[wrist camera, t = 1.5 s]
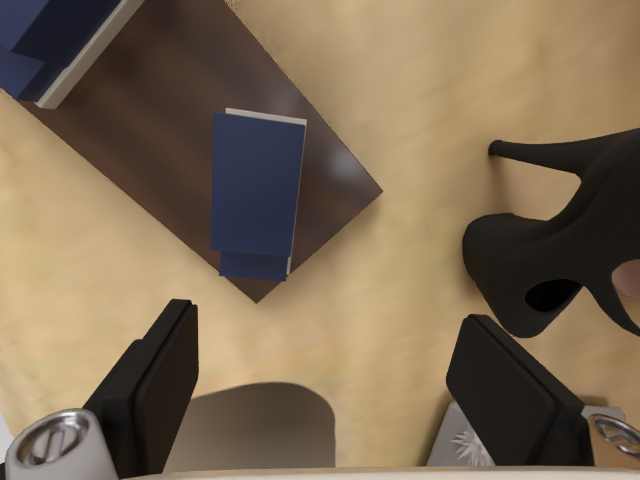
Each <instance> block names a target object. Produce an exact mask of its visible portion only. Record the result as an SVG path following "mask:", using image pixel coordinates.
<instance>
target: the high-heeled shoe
mask: <svg viewBox="0 0 640 480" xmlns="http://www.w3.org/2000/svg"><path fill="white" fill-rule="evenodd" d="M488 151H489V154H490V155H496V156H500V157H505V158H509V159H513V160H518V161H522V162H526V163H531V164H535V165H540V166H544V167H548V168H552V169H556V170H561V171H566V172H570V173H574V174H576V175H577V176H578V177H579V178H580V179H581V182H582V183H581V185H580V187H579V189H578V190H577V192H576V193H575V195H574V196H573V198H572V199H571V201H570V202H569V203H568V205H567V206H566V207H565V208H564V209H563V210H562V211H561V212H560V213H559V214H558V215H556V216H555V217H553V218H551V219H550V220H548V221H543V220H536V219H528V218H523V217H519V216H516V215H514V214H512V213H502V214H492V215H485V216H482V217H480V218H478V219H476V220H474V221H472V222H471V223H470V224H469V225H468V227H467V229H466V231H465V234H464V237H463V258H464V263H465V266H466V269H467V271H468V273H469V275H470V276H471V278H472V279H473V281H474V282H475V284H476V285H477V287H478V288H479V290H480V292H481V293H482V295H483V297H484V298H485V300H486V302H487V303H488V305H489V307H490V308H491V310H492V311H493V313H494V315H495V316H496V318H497V319H498V321H499V322H500V324H501V325H502V326H503V328H504V329H505V330H506V331H508V332H509V333H510V334H512V335H514V336H516V337H519V338H531V337H534V336H537V335H538V334H540V333H541V332H543V330H544V329H545V328H546V327H547V326H548V325H549V324H550V323H551V322H552V321H553V320H554V319H555V318H556V317H557V316H558V315H559V314H560V313H561V312H562V311H563V310H564V309H565V308H566V307H567V306H568V305H569V304H570V302H571V301H572V300H573V299H574V297H575V296H576V295H577V294H578V292H579V291H580V290H581V289H582V287H583V286H585V287H586V288H588V290H589V291H590V292H591V294H592V295H593V297H594V298H595V300H596V301H597V303H598V304H599V306H600V307H601V308H602V310H603V311H604V312H605V313H606V314H607V315H608V316H609V317H610V318H611V319H612V320H613V321H614V322H615V323H617V324H618V325H619V326H621V327H622V328H623V329H625V330H627V331H629V332H631V333H633V334H635V335H637V336H640V328H639V327H638V326H637V325H636V324H635V323H634V322H633V321H632V320H631V319H630V317H629V315H628V314H627V312H626V311H625V309H624V307H623V305H622V303H621V301H620V299H619V296H618V294H617V292H616V289H615V286H614V285H613V283H612V273H613V272H614V270H615V269H616V268H617V267H619V266H620V265H621V264H623V263H625V262H628V261H632V260H636V259H640V128H636V129H632V130H628V131H624V132H620V133H615V134H611V135H606V136H602V137H597V138H592V139H587V140H580V141H574V142H565V143H552V144H521V143H512V142H505V141H502V140H494V141H493V142H492V143H491V144H490V146H489V149H488Z"/></svg>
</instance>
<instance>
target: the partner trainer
mask: <svg viewBox="0 0 640 480" xmlns="http://www.w3.org/2000/svg"><path fill="white" fill-rule="evenodd" d="M144 1H145V0H0V87H1V88H2V89H4V90H5V91H6V92H7V93H8V94H10V95H11V96H12V97H13V98H14V99H16V100H22V101H30V102H34V103H35V104H36V105H37V106H38V107H40V108H46V109H56V108H57V107H58V105H59V104H60V103H61V102H62V101H63V99H64V98H65V97H66V96H67V95H68V93H69V92H70V91H71V90H72V88H73V87H74V86H75V85H76V84H77V82H78V81H79V80H80V79H81V77H82V76H83V75H84V74H85V73H86V71H87V70H88V69H89V68H90V67H91V65H92V64H93V63H94V62H95V60H96V59H97V58H98V57H99V56H100V54H101V53H102V52H103V51H104V49H105V48H106V47H107V46H108V45H109V43H110V42H111V41H112V40H113V39H114V37H115V36H116V35H117V34H118V32H119V31H120V30H121V29H122V28H123V26H124V25H125V24H126V23H127V21H128V20H129V19H130V18H131V17H132V15H133V14H134V13H135V12H136V11H137V9H138V8H139V7H140V6H141V4H142V3H143V2H144Z"/></svg>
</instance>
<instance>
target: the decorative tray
mask: <svg viewBox="0 0 640 480" xmlns="http://www.w3.org/2000/svg"><path fill="white" fill-rule="evenodd" d="M598 413H599V414H604V415H608V416H611V417H614V418H617V419H619V420H621V421H623V422H625V415H624V413H623V411H622V409H621V408H619V407H603V406H586V405H585V407H584V409H583V411H582V413H581V415H582V416H584V417H585V418H586V419H587V418H588V416H590V415H591V414H598ZM432 466H496V465H495V464H494V462H493V460H492V459H491V457H490V455H489V454H488V452H487V451H486V449H485V447H484V446H483V444H482V443H481V441H480V439H479V438H478V436H477V434H476V433H475V431H474V430H473V428H472V426H471V425H470V423H469V422H468V420H467V418H466V417H465V415H464V413H463V412H462V410H461V409H460V407H459V405H458V404H457V402H456V401H455V399H453V400H452V401H451V403H450V404H449V406H448V409H447V411H446V414H445V417H444V419H443V422H442V425H441V427H440V430H439V432H438V435H437V438H436V440H435V443H434V445H433V448H432V451H431V453H430V456H429V459H428V461H427V464H426V466H425V467H432Z"/></svg>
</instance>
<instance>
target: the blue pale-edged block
mask: <svg viewBox="0 0 640 480" xmlns="http://www.w3.org/2000/svg"><path fill="white" fill-rule="evenodd" d="M306 123H307V120H305V119H298V118H291V117H284V116H278V115H271V114H264V113H258V112H251V111H244V110H237V109H231V108H226V113H221V112H214V117H213V160H212V204H211V248H210V249H211V250H218V251H220V268H219V276H227V277H239V278H251V279H262V280H274V281H286V274H288V275H289V273H290V264H291V255H292V246H293V237H294V229H295V220H296V211H297V202H298V193H299V185H300V176H301V167H302V158H303V149H304V140H305V132H306Z"/></svg>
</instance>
